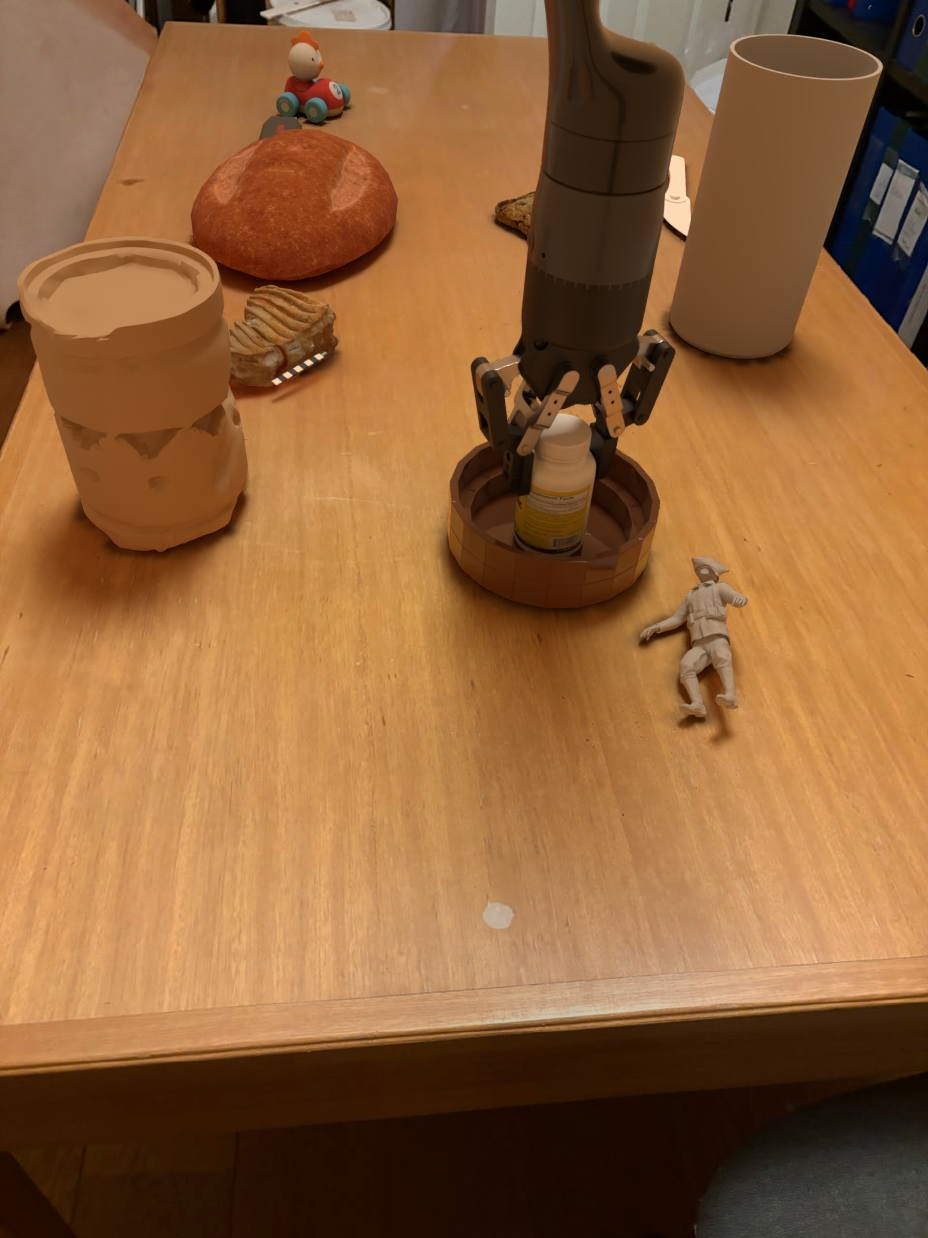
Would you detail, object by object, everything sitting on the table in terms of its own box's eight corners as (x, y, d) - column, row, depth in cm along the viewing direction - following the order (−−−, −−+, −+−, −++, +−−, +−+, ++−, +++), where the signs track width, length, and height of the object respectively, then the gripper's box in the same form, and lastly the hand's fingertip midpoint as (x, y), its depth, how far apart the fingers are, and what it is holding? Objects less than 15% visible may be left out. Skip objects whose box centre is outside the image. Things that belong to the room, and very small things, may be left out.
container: (177, 575, 67) (123, 349, 54) (49, 515, 70) (-31, 289, 57) (284, 484, 74) (259, 267, 61) (163, 434, 78) (116, 220, 65)
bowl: (683, 586, 68) (699, 534, 65) (494, 635, 64) (500, 583, 60) (590, 466, 78) (599, 416, 74) (419, 502, 74) (420, 450, 70)
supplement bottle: (529, 506, 73) (542, 399, 66) (593, 528, 72) (614, 420, 65) (500, 546, 70) (511, 437, 63) (567, 570, 68) (587, 461, 61)
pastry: (645, 259, 106) (651, 233, 104) (494, 250, 106) (496, 224, 103) (630, 197, 118) (634, 173, 116) (494, 189, 118) (495, 165, 115)
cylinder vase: (652, 341, 93) (713, 60, 75) (686, 290, 101) (749, 25, 83) (776, 375, 90) (870, 90, 72) (801, 319, 98) (892, 50, 80)
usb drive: (257, 165, 119) (255, 142, 117) (266, 132, 127) (264, 110, 125) (298, 167, 120) (297, 144, 118) (304, 133, 128) (303, 111, 126)
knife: (654, 158, 127) (656, 150, 127) (687, 162, 127) (688, 154, 126) (653, 239, 109) (655, 230, 109) (690, 243, 109) (692, 234, 108)
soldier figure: (639, 721, 61) (629, 560, 66) (679, 739, 64) (666, 584, 69) (748, 693, 56) (727, 522, 61) (785, 714, 59) (763, 550, 64)
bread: (407, 179, 118) (407, 103, 112) (383, 300, 96) (382, 213, 90) (229, 168, 118) (220, 91, 112) (165, 286, 96) (148, 198, 90)
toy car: (327, 126, 130) (323, 45, 123) (271, 115, 132) (264, 35, 125) (356, 107, 136) (353, 29, 129) (302, 97, 138) (296, 19, 131)
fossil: (345, 340, 90) (255, 317, 90) (348, 290, 86) (253, 266, 85) (310, 423, 83) (213, 399, 83) (311, 374, 79) (208, 348, 79)
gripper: (505, 295, 50) (484, 534, 62) (730, 263, 54) (669, 492, 66) (454, 237, 55) (444, 469, 67) (665, 211, 59) (619, 434, 71)
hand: (556, 480), depth 67 cm, fingers closed on supplement bottle, 5 cm apart
